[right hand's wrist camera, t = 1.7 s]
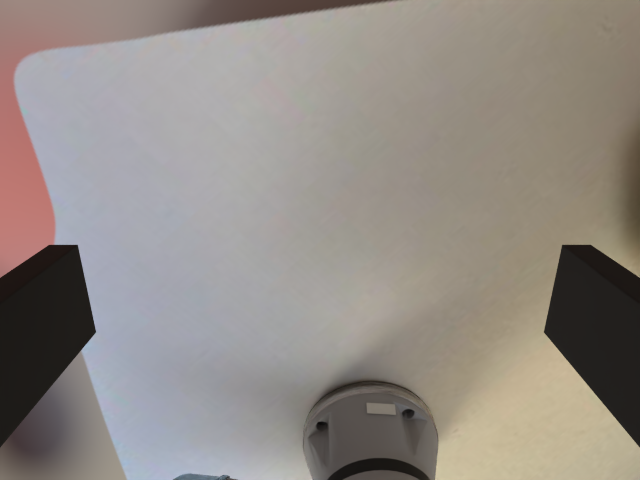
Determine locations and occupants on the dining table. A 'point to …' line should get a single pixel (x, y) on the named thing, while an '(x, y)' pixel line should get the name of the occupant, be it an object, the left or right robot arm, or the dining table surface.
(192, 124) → the dining table surface
